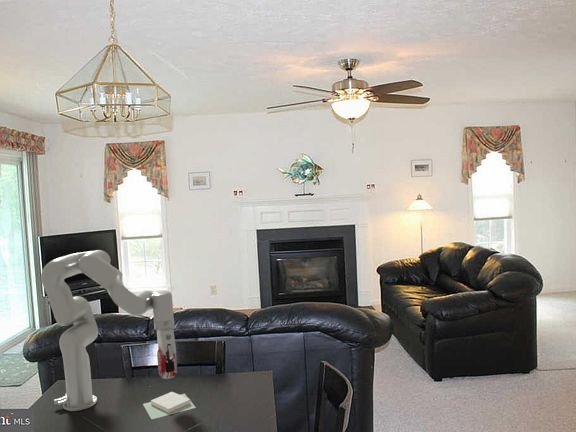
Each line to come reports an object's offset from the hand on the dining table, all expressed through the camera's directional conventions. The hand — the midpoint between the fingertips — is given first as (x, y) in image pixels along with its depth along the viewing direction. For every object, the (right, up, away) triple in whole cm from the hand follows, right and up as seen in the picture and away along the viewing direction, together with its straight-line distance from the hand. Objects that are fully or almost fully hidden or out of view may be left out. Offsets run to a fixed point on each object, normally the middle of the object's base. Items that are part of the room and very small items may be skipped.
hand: (167, 368), depth 199 cm
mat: (0, -15, +1) cm, 15 cm away
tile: (-3, -14, -2) cm, 15 cm away
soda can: (0, -3, 0) cm, 3 cm away
